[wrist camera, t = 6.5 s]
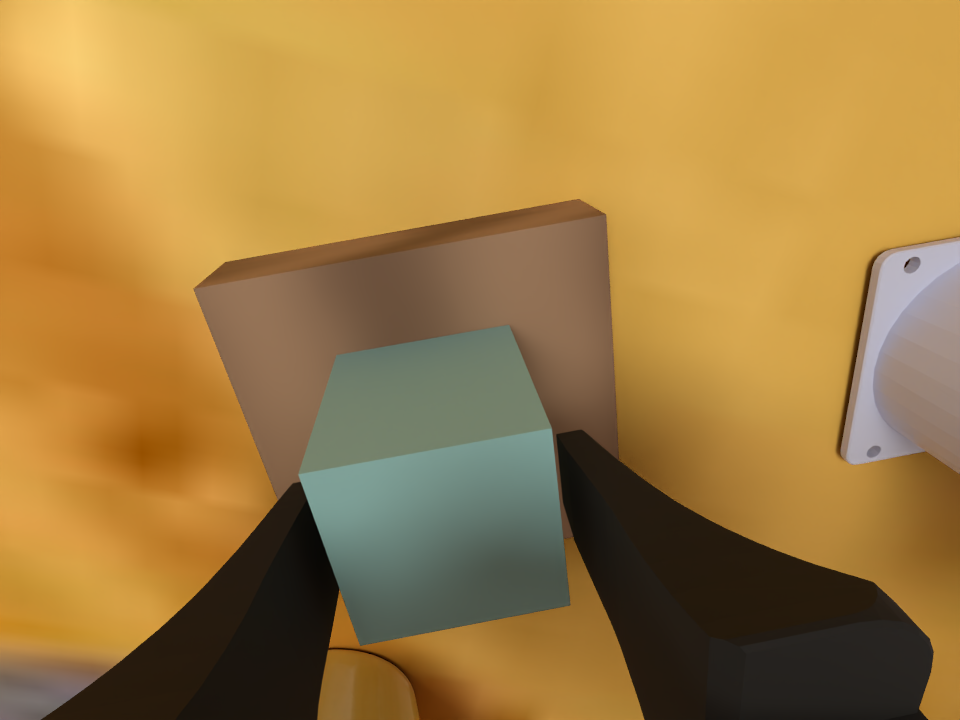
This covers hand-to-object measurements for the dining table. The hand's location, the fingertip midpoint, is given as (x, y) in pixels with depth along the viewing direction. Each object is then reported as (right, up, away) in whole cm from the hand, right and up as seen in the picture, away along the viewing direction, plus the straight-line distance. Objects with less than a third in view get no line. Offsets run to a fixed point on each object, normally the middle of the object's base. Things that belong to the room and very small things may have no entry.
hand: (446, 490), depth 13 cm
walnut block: (-1, +2, +5) cm, 6 cm away
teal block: (0, +2, +2) cm, 3 cm away
